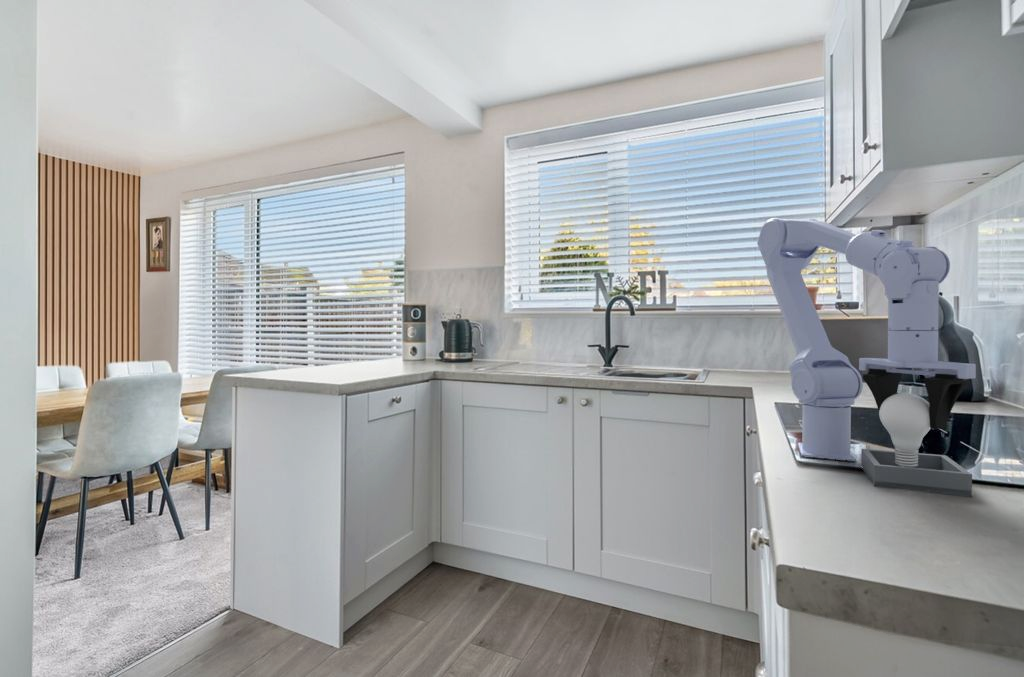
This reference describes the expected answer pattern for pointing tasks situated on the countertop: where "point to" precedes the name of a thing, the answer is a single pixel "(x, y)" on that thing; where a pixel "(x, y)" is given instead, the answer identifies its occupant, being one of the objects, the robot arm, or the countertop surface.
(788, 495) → the countertop surface
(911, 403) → the lightbulb
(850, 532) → the countertop surface
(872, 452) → the tray
